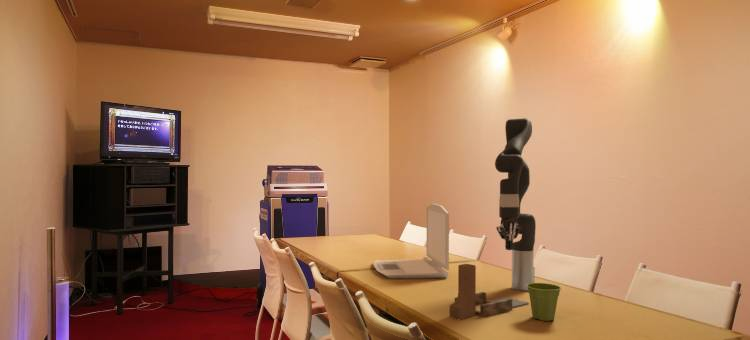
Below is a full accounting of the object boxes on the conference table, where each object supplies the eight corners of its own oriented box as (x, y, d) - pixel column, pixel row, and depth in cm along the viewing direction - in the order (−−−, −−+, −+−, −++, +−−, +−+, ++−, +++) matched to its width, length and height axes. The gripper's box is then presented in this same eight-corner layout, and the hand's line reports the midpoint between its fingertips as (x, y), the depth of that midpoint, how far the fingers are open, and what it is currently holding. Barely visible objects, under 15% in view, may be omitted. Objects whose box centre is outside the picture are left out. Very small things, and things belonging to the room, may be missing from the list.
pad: (505, 298, 202) (505, 296, 202) (528, 304, 193) (528, 302, 193) (489, 302, 196) (489, 300, 196) (512, 308, 187) (512, 306, 187)
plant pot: (568, 321, 170) (569, 288, 170) (539, 324, 167) (539, 291, 167) (547, 312, 181) (547, 281, 182) (519, 314, 178) (519, 283, 178)
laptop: (370, 265, 275) (370, 202, 275) (428, 264, 279) (428, 202, 279) (380, 281, 234) (380, 207, 234) (448, 279, 238) (448, 207, 238)
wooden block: (458, 320, 171) (458, 268, 171) (449, 317, 174) (449, 266, 174) (475, 316, 176) (476, 265, 176) (466, 313, 180) (466, 263, 180)
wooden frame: (483, 302, 196) (483, 291, 196) (512, 309, 184) (512, 299, 184) (454, 308, 186) (454, 297, 186) (483, 317, 175) (483, 305, 175)
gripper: (512, 204, 201) (511, 247, 201) (490, 205, 193) (490, 250, 193) (527, 205, 195) (527, 249, 195) (506, 206, 187) (506, 252, 187)
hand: (509, 249), depth 194 cm, fingers closed
